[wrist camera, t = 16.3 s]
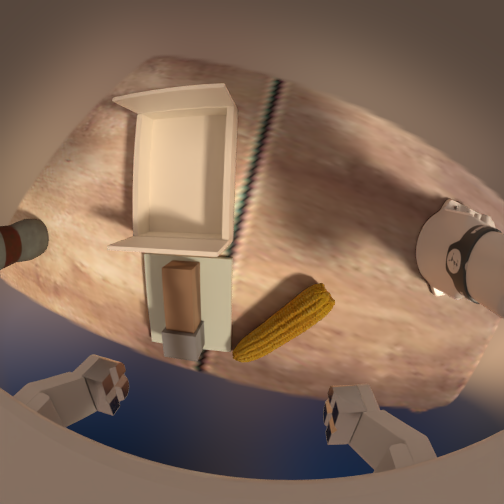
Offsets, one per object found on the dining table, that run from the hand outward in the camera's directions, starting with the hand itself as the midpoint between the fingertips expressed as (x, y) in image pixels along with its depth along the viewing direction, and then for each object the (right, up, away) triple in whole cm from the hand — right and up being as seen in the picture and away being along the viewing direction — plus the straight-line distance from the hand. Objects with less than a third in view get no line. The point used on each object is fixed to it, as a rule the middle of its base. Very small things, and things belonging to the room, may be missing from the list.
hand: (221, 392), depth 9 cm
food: (+7, -7, +40) cm, 41 cm away
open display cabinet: (-9, +18, +35) cm, 41 cm away
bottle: (-49, +9, +41) cm, 64 cm away
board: (-10, -4, +40) cm, 41 cm away
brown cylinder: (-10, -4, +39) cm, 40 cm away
